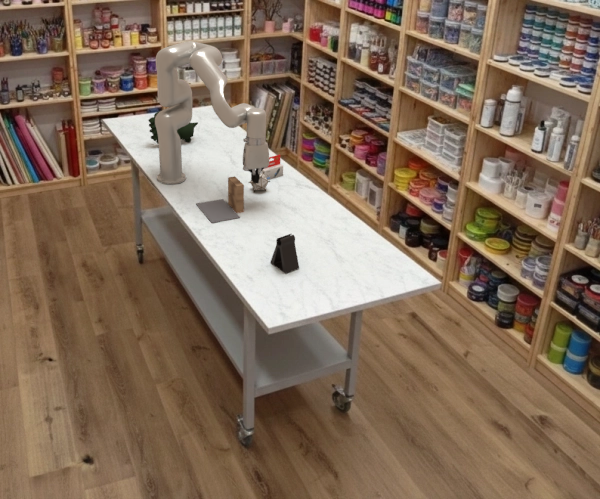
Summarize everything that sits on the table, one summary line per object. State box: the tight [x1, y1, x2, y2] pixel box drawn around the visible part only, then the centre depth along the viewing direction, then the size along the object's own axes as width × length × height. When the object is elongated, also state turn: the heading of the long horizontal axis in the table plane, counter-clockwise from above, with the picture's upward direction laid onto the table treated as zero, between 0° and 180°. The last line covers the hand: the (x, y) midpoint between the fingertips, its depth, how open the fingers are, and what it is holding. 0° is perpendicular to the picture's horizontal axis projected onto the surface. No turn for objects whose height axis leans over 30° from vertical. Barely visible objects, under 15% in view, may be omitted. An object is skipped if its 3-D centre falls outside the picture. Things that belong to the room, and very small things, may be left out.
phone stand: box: [270, 233, 300, 274], centre depth 247 cm, size 9×6×12 cm, turn 39°
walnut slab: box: [227, 175, 245, 214], centre depth 285 cm, size 9×3×12 cm, turn 28°
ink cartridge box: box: [261, 154, 284, 181], centre depth 313 cm, size 2×11×10 cm, turn 131°
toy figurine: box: [147, 110, 199, 145], centre depth 341 cm, size 9×19×25 cm
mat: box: [195, 198, 241, 224], centre depth 284 cm, size 18×12×1 cm, turn 28°
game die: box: [248, 172, 271, 193], centre depth 302 cm, size 9×8×10 cm
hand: (255, 182), depth 286 cm, fingers closed
